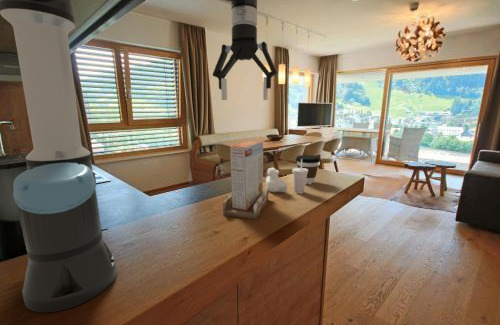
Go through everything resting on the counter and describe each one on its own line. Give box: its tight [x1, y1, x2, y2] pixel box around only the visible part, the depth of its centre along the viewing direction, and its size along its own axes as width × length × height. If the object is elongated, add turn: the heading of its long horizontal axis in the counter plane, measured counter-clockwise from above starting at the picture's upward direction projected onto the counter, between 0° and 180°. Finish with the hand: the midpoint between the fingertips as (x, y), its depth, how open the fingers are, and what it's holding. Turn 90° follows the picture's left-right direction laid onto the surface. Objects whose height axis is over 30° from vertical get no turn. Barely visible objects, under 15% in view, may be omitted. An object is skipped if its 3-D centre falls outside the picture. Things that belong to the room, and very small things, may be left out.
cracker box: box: [229, 140, 264, 211], centre depth 85 cm, size 14×6×21 cm, turn 154°
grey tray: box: [222, 187, 270, 220], centre depth 88 cm, size 18×11×5 cm, turn 164°
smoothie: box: [291, 159, 308, 195], centre depth 101 cm, size 6×6×14 cm
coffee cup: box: [295, 154, 321, 185], centre depth 115 cm, size 11×11×12 cm
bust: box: [265, 166, 288, 194], centre depth 103 cm, size 12×8×11 cm
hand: (244, 100), depth 79 cm, fingers open, 13 cm apart
